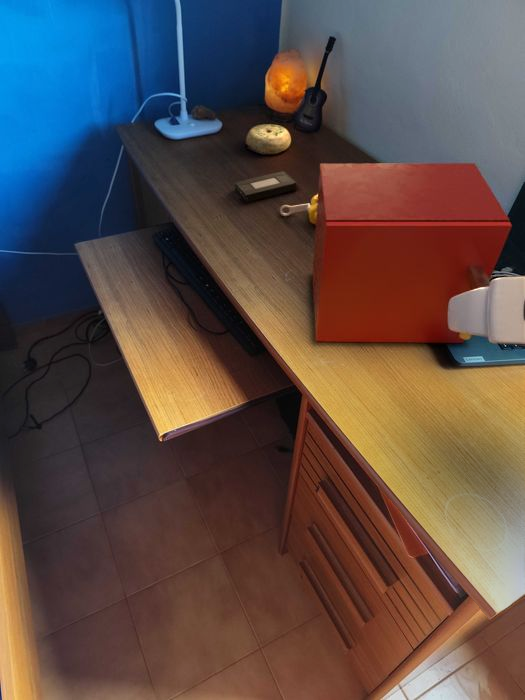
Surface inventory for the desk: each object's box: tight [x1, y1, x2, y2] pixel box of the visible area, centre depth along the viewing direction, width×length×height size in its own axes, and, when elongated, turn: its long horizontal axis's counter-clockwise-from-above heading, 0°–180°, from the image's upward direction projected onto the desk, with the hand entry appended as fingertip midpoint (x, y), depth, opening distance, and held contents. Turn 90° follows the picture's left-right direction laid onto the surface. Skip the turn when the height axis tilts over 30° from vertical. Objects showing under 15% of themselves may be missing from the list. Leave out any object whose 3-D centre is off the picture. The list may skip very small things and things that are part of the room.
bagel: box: [245, 123, 292, 155], centre depth 139 cm, size 14×13×5 cm
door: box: [315, 221, 513, 344], centre depth 73 cm, size 7×26×24 cm, turn 88°
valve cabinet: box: [311, 162, 510, 333], centre depth 81 cm, size 18×26×24 cm
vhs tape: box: [234, 170, 297, 203], centre depth 122 cm, size 8×14×2 cm, turn 115°
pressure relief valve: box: [279, 194, 318, 226], centre depth 110 cm, size 6×12×10 cm
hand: (513, 317), depth 58 cm, fingers open, 8 cm apart
